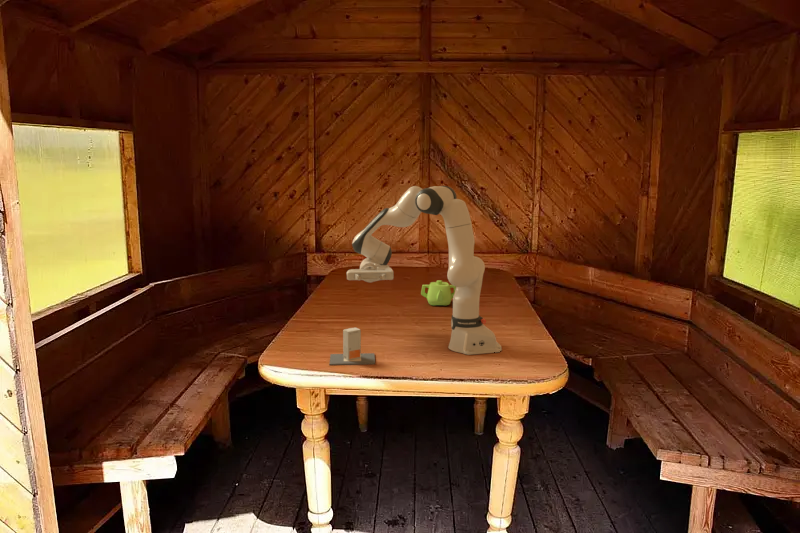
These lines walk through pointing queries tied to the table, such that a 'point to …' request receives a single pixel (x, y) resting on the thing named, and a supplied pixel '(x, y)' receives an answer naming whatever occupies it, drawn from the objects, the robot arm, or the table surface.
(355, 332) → the skincare box
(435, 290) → the teapot
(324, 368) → the table surface
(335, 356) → the rubber mat
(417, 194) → the robot arm
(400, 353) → the table surface
